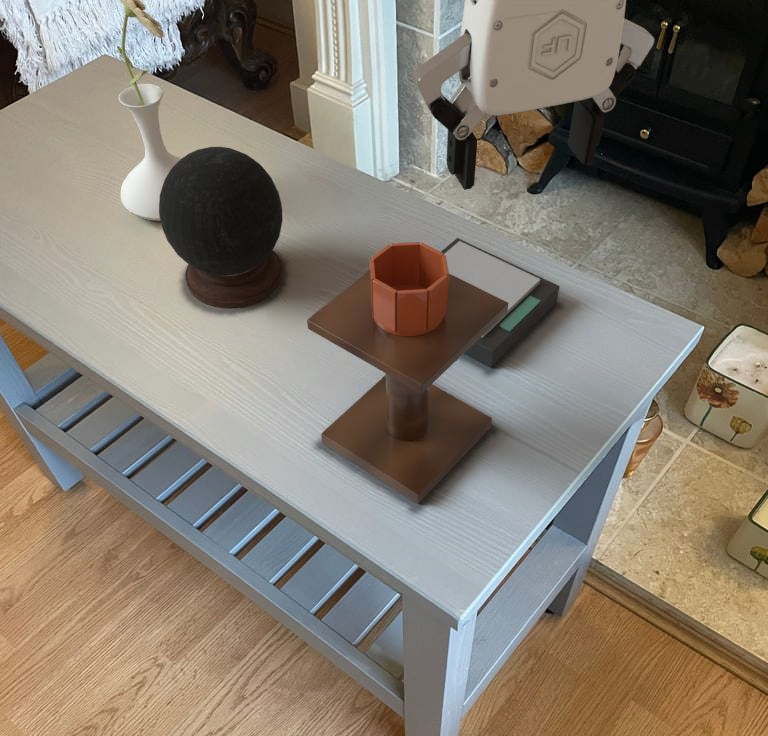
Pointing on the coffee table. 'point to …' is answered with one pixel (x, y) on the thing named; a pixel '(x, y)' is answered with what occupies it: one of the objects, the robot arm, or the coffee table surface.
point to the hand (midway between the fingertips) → (521, 167)
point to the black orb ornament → (223, 226)
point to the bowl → (409, 288)
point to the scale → (501, 297)
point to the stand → (407, 387)
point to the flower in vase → (144, 129)
